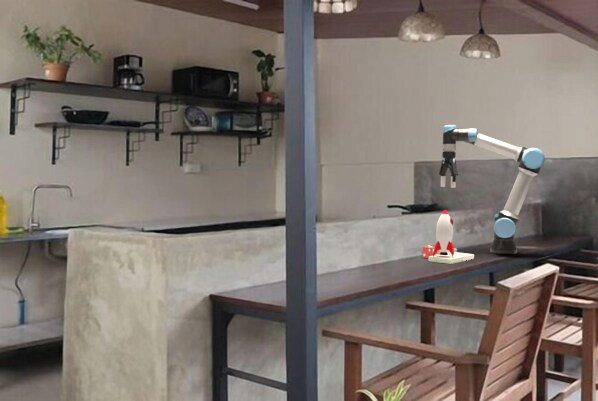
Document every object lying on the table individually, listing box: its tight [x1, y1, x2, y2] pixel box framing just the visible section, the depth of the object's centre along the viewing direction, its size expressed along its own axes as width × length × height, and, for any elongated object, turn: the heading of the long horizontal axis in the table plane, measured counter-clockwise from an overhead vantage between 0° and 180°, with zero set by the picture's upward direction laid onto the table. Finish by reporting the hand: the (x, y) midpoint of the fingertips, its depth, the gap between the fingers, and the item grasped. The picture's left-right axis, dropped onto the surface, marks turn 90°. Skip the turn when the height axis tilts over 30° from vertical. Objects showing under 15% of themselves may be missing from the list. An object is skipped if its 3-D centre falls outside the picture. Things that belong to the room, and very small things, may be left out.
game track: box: [428, 252, 475, 265], centre depth 348 cm, size 27×13×2 cm, turn 138°
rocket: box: [433, 209, 455, 258], centre depth 343 cm, size 11×11×25 cm
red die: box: [421, 245, 437, 259], centre depth 356 cm, size 7×7×7 cm
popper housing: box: [437, 247, 458, 255], centre depth 367 cm, size 12×12×4 cm
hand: (447, 187), depth 379 cm, fingers open, 13 cm apart
